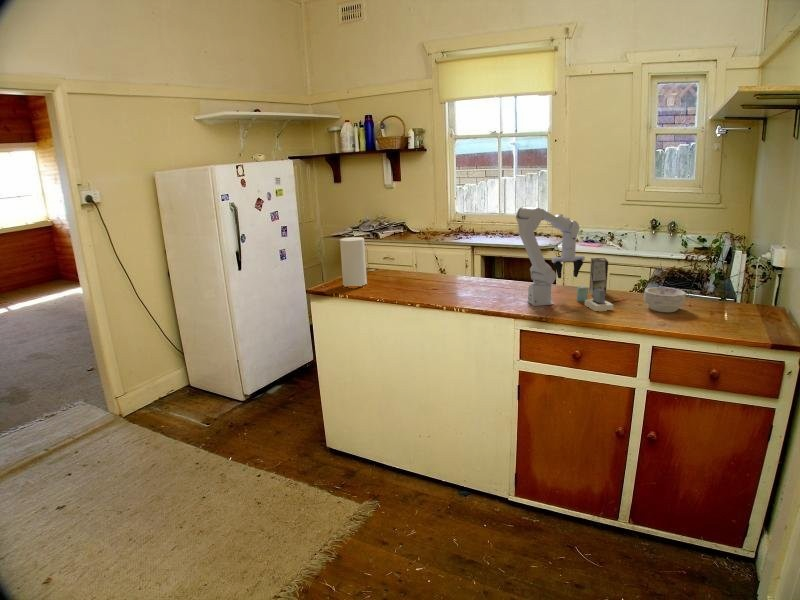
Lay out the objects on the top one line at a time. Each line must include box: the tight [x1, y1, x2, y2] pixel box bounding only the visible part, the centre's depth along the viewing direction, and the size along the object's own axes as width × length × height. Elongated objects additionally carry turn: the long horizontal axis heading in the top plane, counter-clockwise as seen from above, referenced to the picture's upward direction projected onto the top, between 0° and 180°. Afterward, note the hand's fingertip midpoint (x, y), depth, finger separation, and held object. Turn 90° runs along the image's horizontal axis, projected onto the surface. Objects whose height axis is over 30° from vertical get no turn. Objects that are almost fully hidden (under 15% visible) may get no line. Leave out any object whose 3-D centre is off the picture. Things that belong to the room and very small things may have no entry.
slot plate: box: [584, 298, 614, 312], centre depth 222 cm, size 8×10×2 cm
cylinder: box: [339, 236, 368, 286], centre depth 274 cm, size 12×12×25 cm
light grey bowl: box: [643, 286, 687, 313], centre depth 215 cm, size 15×15×8 cm
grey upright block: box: [576, 285, 589, 303], centre depth 232 cm, size 4×4×6 cm
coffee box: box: [588, 257, 609, 297], centre depth 241 cm, size 9×6×16 cm
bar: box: [592, 288, 607, 304], centre depth 221 cm, size 2×5×8 cm, turn 8°
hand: (567, 277), depth 237 cm, fingers open, 7 cm apart
